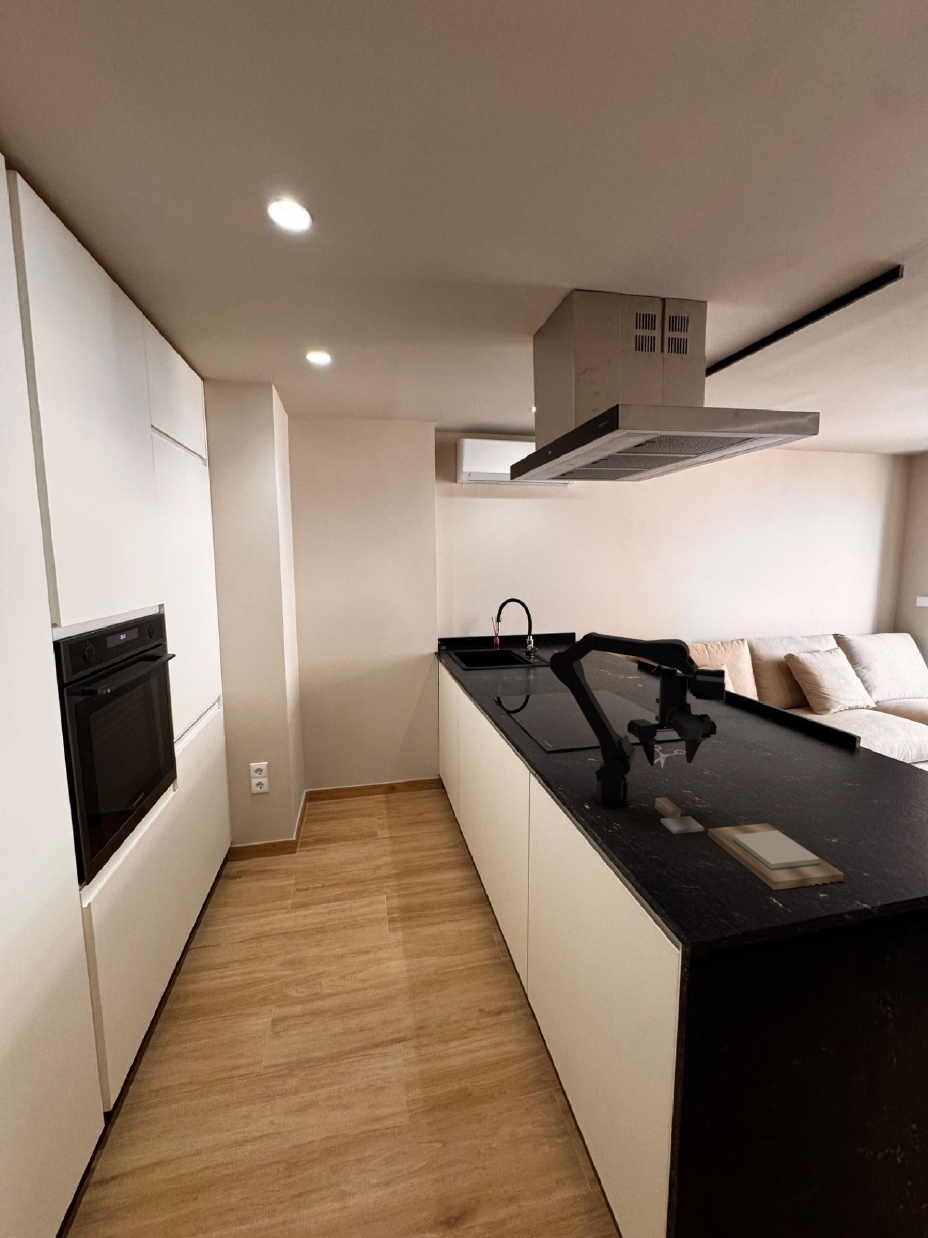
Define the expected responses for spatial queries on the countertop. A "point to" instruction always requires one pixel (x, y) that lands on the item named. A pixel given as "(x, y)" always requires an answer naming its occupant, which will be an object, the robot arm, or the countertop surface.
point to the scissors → (662, 756)
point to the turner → (676, 818)
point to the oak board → (770, 877)
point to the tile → (775, 850)
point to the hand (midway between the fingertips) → (670, 764)
